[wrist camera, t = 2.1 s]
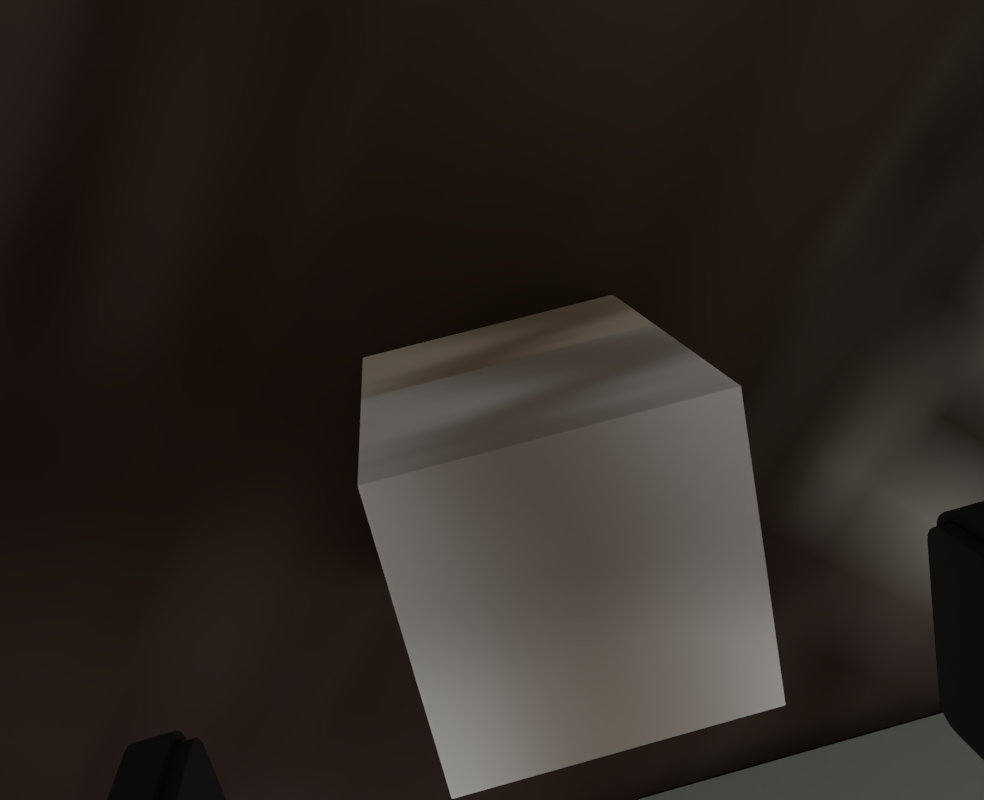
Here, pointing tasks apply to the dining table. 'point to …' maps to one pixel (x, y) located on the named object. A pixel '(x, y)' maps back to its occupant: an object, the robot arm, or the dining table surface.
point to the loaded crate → (566, 539)
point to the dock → (859, 770)
